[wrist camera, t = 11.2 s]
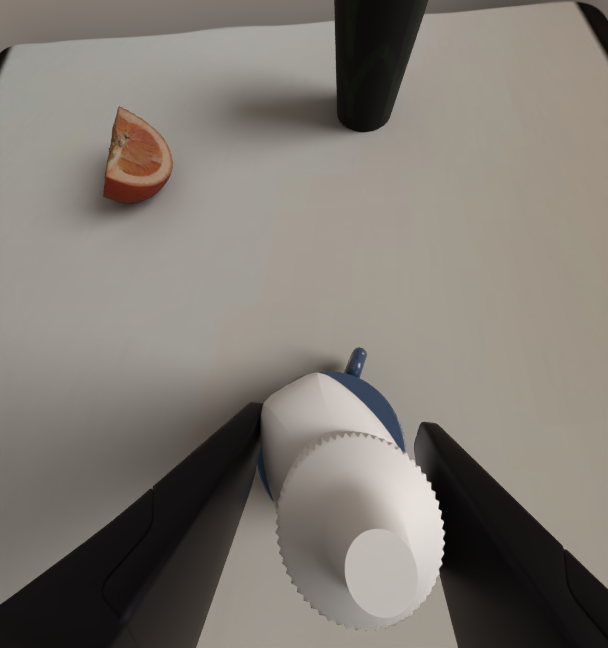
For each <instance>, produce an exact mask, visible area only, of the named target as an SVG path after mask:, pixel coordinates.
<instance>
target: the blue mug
mask: <svg viewBox="0 0 608 648" xmlns="http://www.w3.org/2000/svg"><path fill="white" fill-rule="evenodd" d="M366 357H367V353H366V351H365V350H364V349H363V348H360V347H359V348H356V349H354V351H353V352H352V354H351V356H350V358H349V360H348V363H347V366H346V369H345V372H344V373H341V372H335V371H323V372H318V373H322V374H325V375H328V376H329V377H331V378H333V379H335V380H336V381H338V382H339V383H340V384H342V385H343V386H344V387H346V388H347V389H348V390H349V391H351V392H352V393H353V394H354V395H355V396H356V397H358V398H359V399H360V400H361V401H362V402H363V403H364V404H365V405H366V406H367V407H368V408H369V409H370V410H371V411H372V412H373V413H374V415H375V416H376V417H377V418H378V419H379V420H380V422H381V423H382V424H383V425H384V427H385V428H386V429H387V431H388V432H389V433H390V435H391V436H392V438H393V439H394V441H395V442H396V444H397V446H398V447H400V448H401V451H402V452H405V453H406V448H405V440H404V435H403V431H402V428H401V425H400V422H399V420H398V418H397V416H396V414H395V412H394V410H393V409H392V407H391V405H390V404H389V403H388V401H387V400H386V399H385V398H384V397H383V396H382V394H381V393H380V392H379V391H378V390H376V389H375V388H374V387H373V386H371V385H370V384H368V383H367V382H365V381H363V380H362V379H360V375H361V372H362V369H363V366H364V363H365V360H366ZM316 373H317V372H316ZM311 374H312V373H311ZM302 377H303V376H302ZM300 378H301V377H300ZM298 379H299V378H298ZM296 380H297V379H296ZM294 381H295V380H294ZM294 381H292V382H294ZM292 382H291V383H292ZM289 384H290V383H289ZM257 465H258V470H259V473H260V477H261V480H262V482H263V485H264V487H265V489H266V491H267V493H268V495H269V496H270V498H271V499H272V501H273V498H272V495H271V492H270V489H269V485H268V481H267V478H266V473H265V468H264V463H263V456H262V449H260V453H259V458H258V462H257ZM273 502H274V501H273Z"/></svg>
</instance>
